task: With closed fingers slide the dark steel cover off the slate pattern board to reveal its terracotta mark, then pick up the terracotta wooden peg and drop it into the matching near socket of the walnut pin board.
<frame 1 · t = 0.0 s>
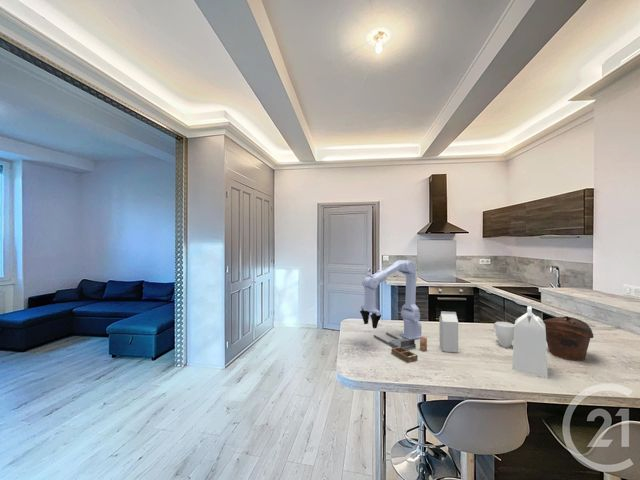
hand: (370, 325, 141), 10 cm above the breakfast bar, fingers open, 7 cm apart
mug: (502, 344, 141), on the breakfast bar
socket board: (404, 357, 126), on the breakfast bar
milk carton: (448, 349, 135), on the breakfast bar
pattern board: (402, 346, 139), on the breakfast bar
peg: (423, 350, 134), on the breakfast bar
case: (566, 355, 128), on the breakfast bar
milk: (529, 368, 115), on the breakfast bar
cover: (402, 340, 139), point 3 cm above the breakfast bar, slide at 0.0 cm
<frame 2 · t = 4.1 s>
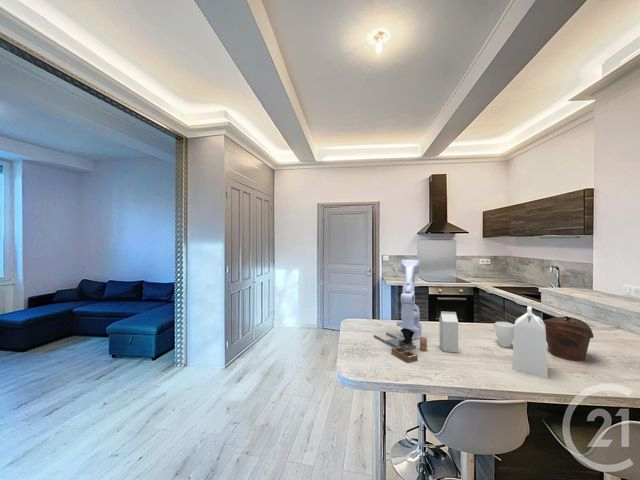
hand: (407, 343, 135), 3 cm above the breakfast bar, fingers closed
cover: (400, 339, 140), point 3 cm above the breakfast bar, slide at 1.6 cm, touching gripper
everything else where it was.
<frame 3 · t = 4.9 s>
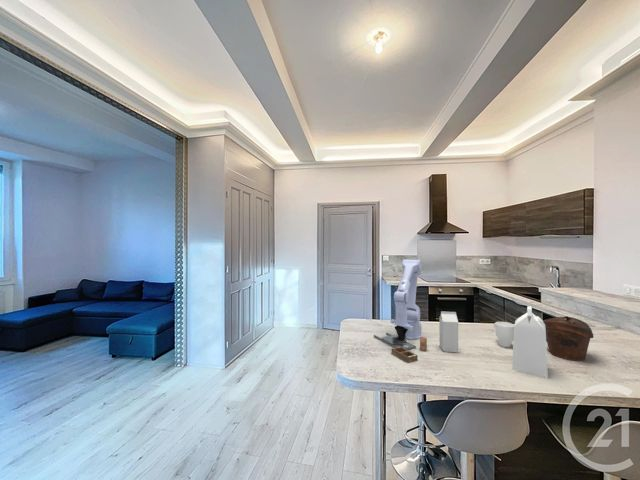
hand: (401, 340, 139), 3 cm above the breakfast bar, fingers closed
cover: (393, 337, 144), point 3 cm above the breakfast bar, slide at 6.2 cm, touching gripper
everything else where it was.
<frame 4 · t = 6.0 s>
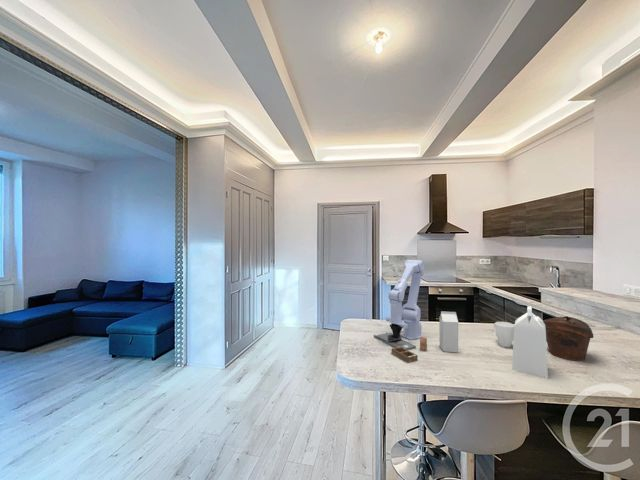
hand: (396, 338, 143), 3 cm above the breakfast bar, fingers closed
cover: (389, 334, 148), point 3 cm above the breakfast bar, slide at 10.0 cm, touching gripper
everything else where it was.
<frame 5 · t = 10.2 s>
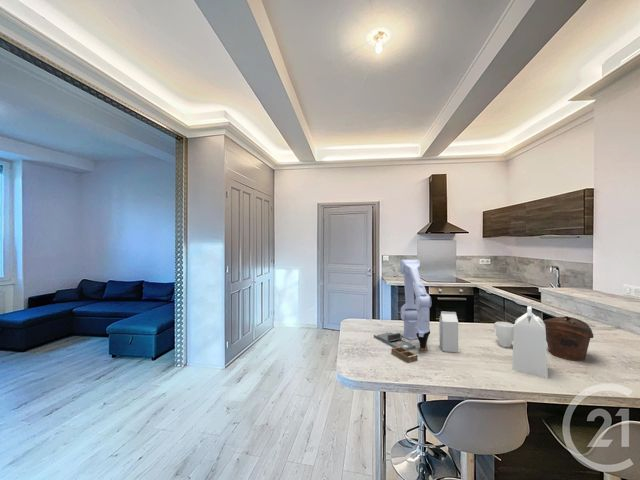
hand: (423, 346, 134), 2 cm above the breakfast bar, fingers closed on peg, 3 cm apart
peg: (423, 350, 134), on the breakfast bar, touching gripper
cover: (389, 334, 148), point 3 cm above the breakfast bar, slide at 10.1 cm
everything else where it was.
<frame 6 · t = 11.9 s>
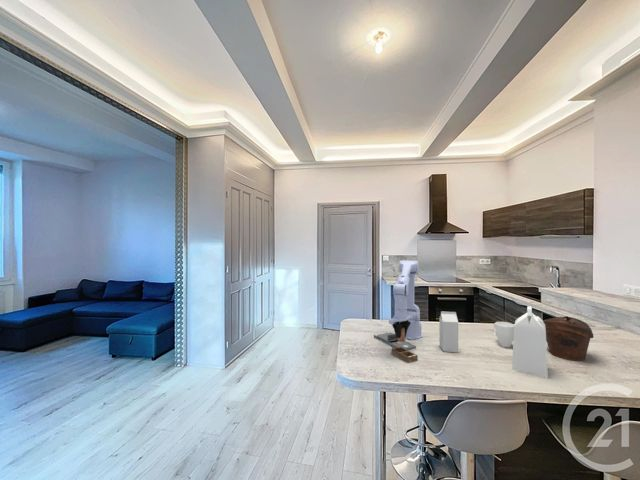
hand: (400, 336, 129), 9 cm above the breakfast bar, fingers closed on peg, 3 cm apart
peg: (401, 340, 129), point 7 cm above the breakfast bar, touching gripper
everything else where it was.
when the fingers open (3 cm above the breakfast bar, at t = 13.8 s): peg drops 1 cm, resting in socket board.
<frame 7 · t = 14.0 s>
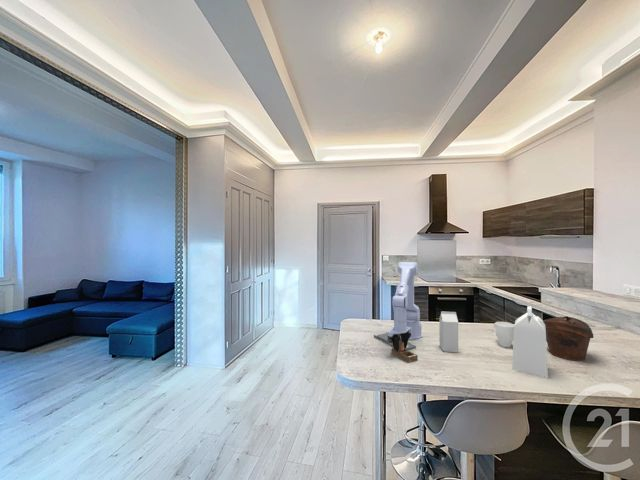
hand: (400, 348, 129), 3 cm above the breakfast bar, fingers open, 5 cm apart
peg: (400, 355, 129), resting in socket board
everything else where it was.
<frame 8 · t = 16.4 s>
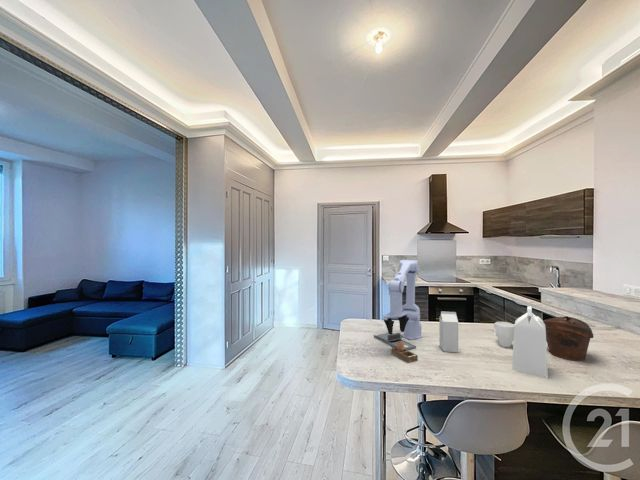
hand: (396, 332, 131), 10 cm above the breakfast bar, fingers open, 7 cm apart
nothing on the breakfast bar moved.
at the end: cover slide at 10.1 cm; peg 0.1 cm from the target spot on the socket board, point 0.0 cm above the socket board's base; peg tilted 0° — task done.
